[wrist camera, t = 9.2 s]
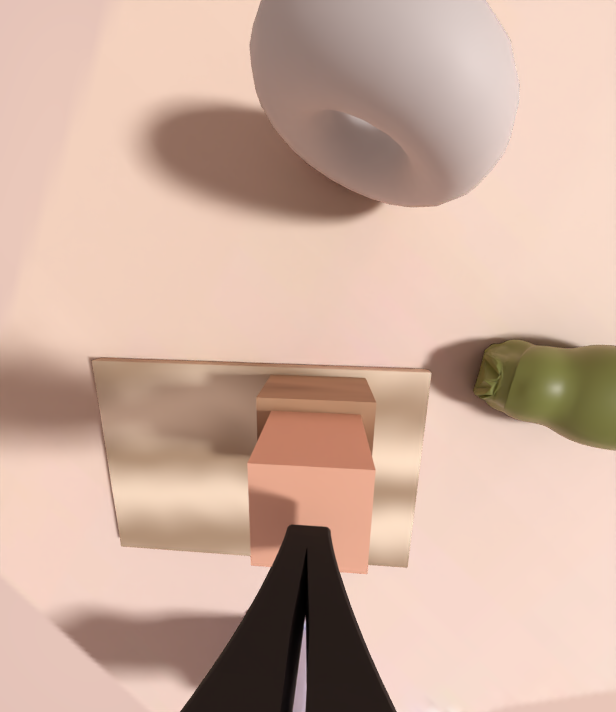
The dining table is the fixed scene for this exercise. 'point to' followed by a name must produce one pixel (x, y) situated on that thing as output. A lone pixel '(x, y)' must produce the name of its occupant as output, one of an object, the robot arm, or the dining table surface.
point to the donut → (388, 92)
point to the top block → (312, 484)
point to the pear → (554, 388)
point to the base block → (317, 398)
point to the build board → (236, 450)
